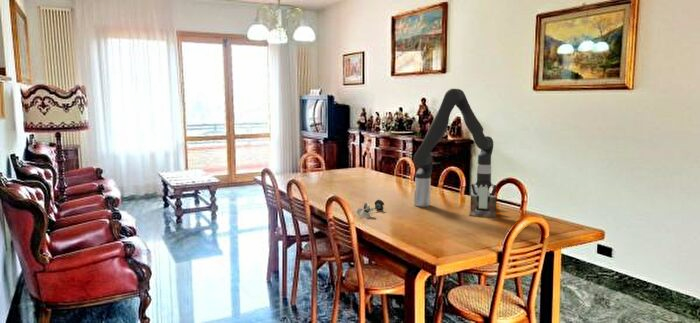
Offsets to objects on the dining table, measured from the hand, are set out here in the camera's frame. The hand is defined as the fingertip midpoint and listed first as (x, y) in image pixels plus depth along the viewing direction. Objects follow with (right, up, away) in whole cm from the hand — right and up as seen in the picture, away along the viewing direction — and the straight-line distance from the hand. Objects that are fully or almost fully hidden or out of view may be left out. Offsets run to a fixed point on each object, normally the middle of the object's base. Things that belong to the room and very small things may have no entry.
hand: (483, 202), depth 266 cm
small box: (+4, -5, +20) cm, 21 cm away
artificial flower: (-63, -7, +3) cm, 63 cm away
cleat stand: (0, -7, +1) cm, 7 cm away
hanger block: (0, -3, 0) cm, 3 cm away
